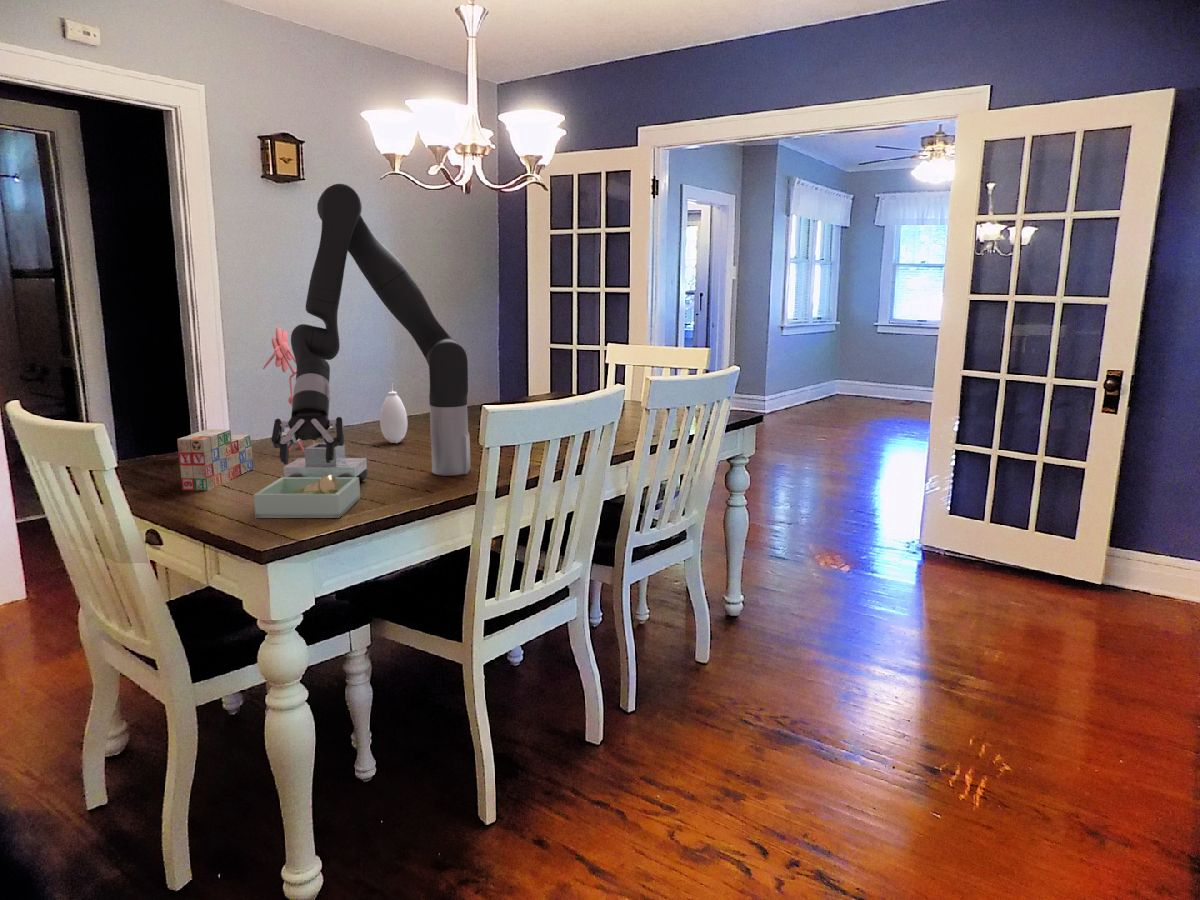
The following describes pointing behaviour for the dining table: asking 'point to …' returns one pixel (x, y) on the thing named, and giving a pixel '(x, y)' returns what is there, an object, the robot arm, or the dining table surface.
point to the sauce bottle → (393, 418)
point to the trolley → (326, 464)
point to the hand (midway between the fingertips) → (306, 461)
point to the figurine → (284, 363)
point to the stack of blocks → (213, 458)
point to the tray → (305, 499)
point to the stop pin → (321, 486)
